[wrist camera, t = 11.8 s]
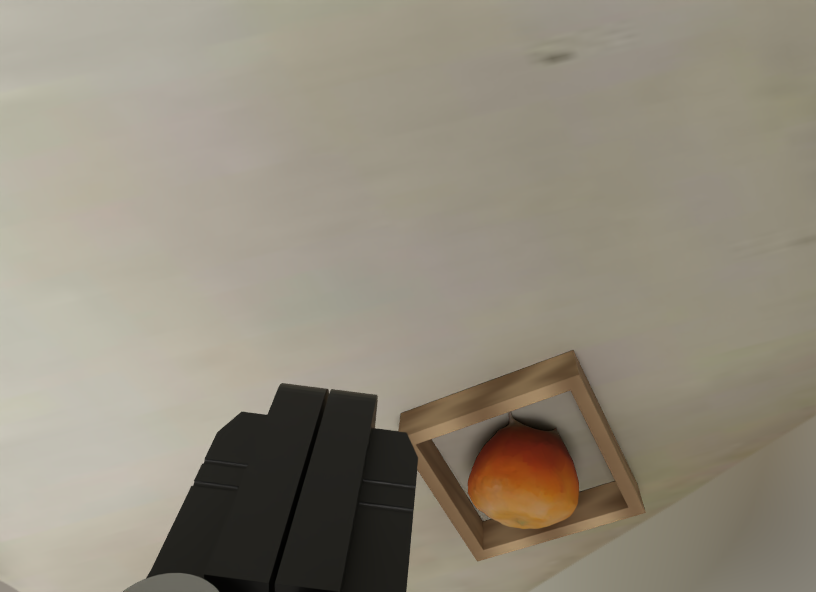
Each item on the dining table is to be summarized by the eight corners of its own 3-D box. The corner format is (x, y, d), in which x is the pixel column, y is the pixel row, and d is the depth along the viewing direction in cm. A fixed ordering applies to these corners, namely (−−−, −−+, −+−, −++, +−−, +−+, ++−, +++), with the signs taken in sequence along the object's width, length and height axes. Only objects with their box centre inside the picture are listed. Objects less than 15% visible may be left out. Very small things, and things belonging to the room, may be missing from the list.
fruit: (597, 412, 51) (594, 524, 47) (563, 444, 57) (558, 544, 53) (488, 391, 50) (476, 501, 46) (468, 426, 57) (456, 525, 53)
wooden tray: (573, 350, 50) (579, 374, 47) (637, 484, 55) (645, 512, 53) (400, 413, 54) (397, 439, 51) (476, 532, 59) (477, 561, 57)
